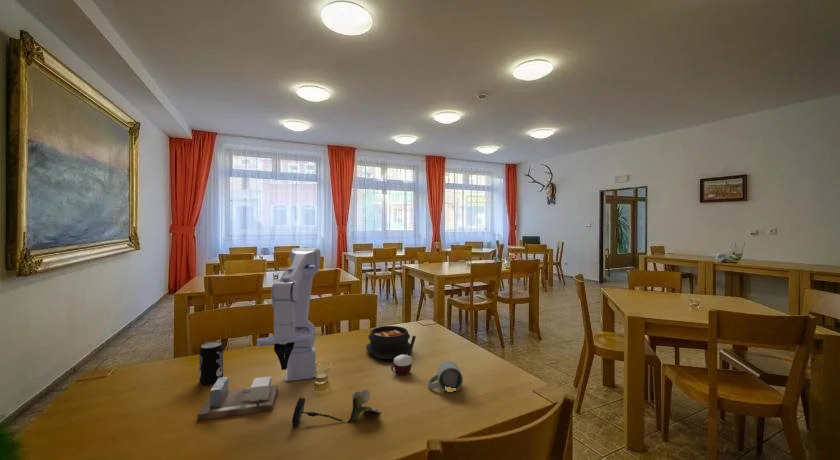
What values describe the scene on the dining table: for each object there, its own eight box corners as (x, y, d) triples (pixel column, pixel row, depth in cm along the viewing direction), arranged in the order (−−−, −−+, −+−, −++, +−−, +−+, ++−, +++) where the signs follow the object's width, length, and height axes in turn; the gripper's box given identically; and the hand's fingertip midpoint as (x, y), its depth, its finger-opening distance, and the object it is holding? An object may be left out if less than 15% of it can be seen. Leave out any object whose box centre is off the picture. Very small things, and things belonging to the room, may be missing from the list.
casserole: (416, 362, 127) (417, 340, 127) (366, 365, 124) (367, 342, 124) (407, 339, 152) (407, 321, 151) (365, 342, 148) (365, 323, 148)
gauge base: (277, 389, 105) (277, 384, 105) (272, 410, 93) (272, 404, 93) (211, 397, 100) (211, 392, 100) (197, 420, 88) (197, 414, 88)
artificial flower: (297, 419, 92) (304, 379, 94) (379, 426, 93) (384, 387, 96) (288, 429, 83) (296, 385, 86) (379, 437, 85) (384, 393, 87)
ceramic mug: (458, 380, 112) (458, 357, 112) (463, 392, 104) (462, 368, 104) (427, 381, 112) (426, 358, 111) (428, 394, 103) (428, 369, 103)
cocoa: (392, 378, 114) (391, 344, 113) (389, 370, 120) (388, 337, 119) (419, 375, 116) (418, 340, 115) (415, 366, 122) (414, 334, 121)
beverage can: (211, 386, 106) (211, 348, 106) (194, 384, 108) (194, 347, 107) (227, 377, 113) (227, 341, 112) (210, 375, 114) (210, 340, 114)
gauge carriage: (271, 389, 101) (271, 376, 101) (266, 404, 93) (266, 389, 93) (245, 392, 99) (245, 379, 99) (238, 407, 91) (238, 393, 91)
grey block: (228, 393, 99) (228, 376, 99) (220, 408, 91) (220, 389, 91) (218, 394, 98) (218, 377, 98) (210, 409, 91) (210, 390, 90)
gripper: (254, 328, 93) (254, 377, 93) (310, 324, 97) (309, 371, 98) (259, 321, 100) (259, 366, 100) (310, 318, 104) (310, 361, 104)
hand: (284, 368), depth 99 cm, fingers closed
